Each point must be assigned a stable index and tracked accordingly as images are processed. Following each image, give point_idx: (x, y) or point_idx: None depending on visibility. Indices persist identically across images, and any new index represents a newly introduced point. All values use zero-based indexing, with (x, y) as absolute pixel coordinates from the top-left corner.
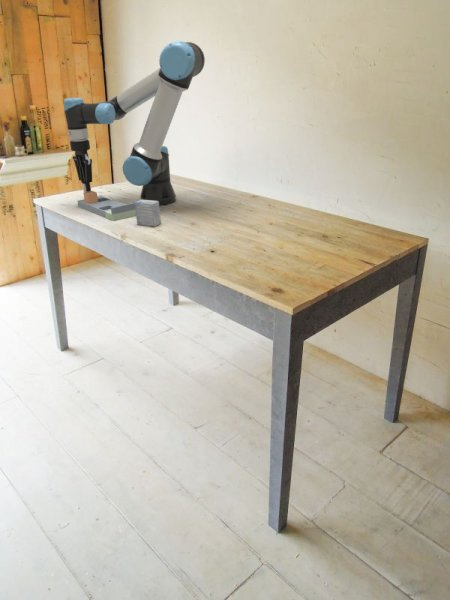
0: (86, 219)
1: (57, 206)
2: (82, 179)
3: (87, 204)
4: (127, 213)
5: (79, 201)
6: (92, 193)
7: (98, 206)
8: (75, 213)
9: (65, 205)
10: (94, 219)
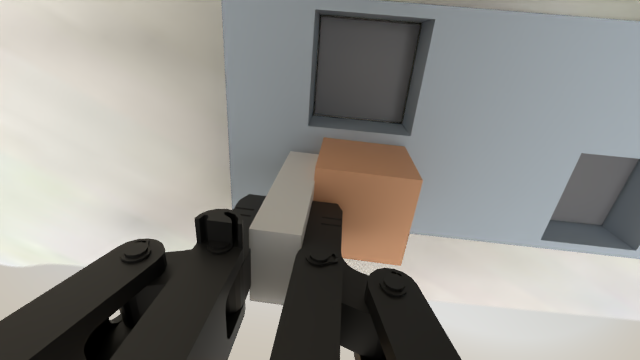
0: (527, 303)
1: None
2: (236, 334)
3: None
4: None
5: None
6: (411, 223)
7: (514, 216)
8: None
9: (163, 223)
10: (574, 283)
